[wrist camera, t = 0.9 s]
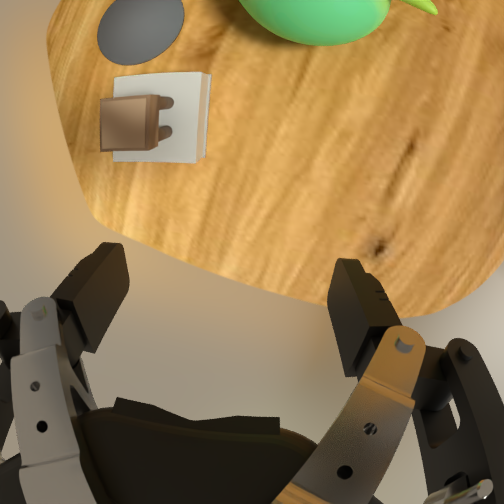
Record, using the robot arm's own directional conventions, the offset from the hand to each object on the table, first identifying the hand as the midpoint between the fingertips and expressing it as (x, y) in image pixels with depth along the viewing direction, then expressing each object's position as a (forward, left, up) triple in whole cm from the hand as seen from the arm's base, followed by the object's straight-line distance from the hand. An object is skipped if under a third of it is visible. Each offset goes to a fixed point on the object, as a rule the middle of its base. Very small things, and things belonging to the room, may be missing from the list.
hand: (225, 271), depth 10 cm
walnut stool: (-4, -10, -21) cm, 24 cm away
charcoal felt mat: (-17, -15, -26) cm, 35 cm away
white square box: (-4, -10, -26) cm, 28 cm away
